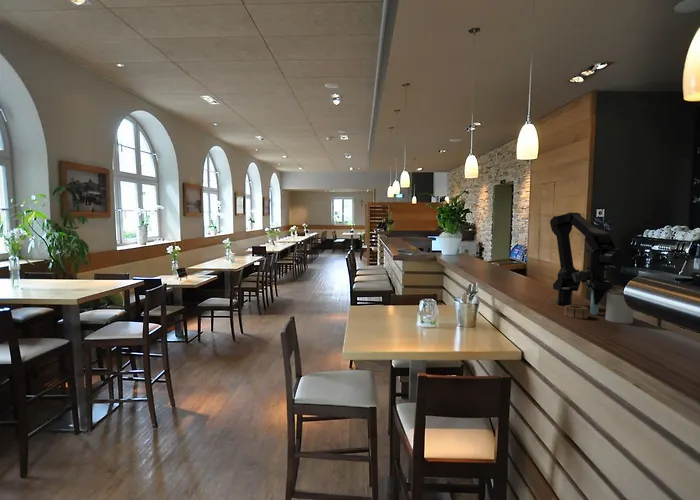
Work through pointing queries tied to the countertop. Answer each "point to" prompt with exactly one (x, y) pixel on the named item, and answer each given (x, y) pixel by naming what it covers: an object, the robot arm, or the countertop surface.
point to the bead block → (576, 311)
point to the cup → (618, 308)
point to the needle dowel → (593, 306)
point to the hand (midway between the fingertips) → (594, 303)
